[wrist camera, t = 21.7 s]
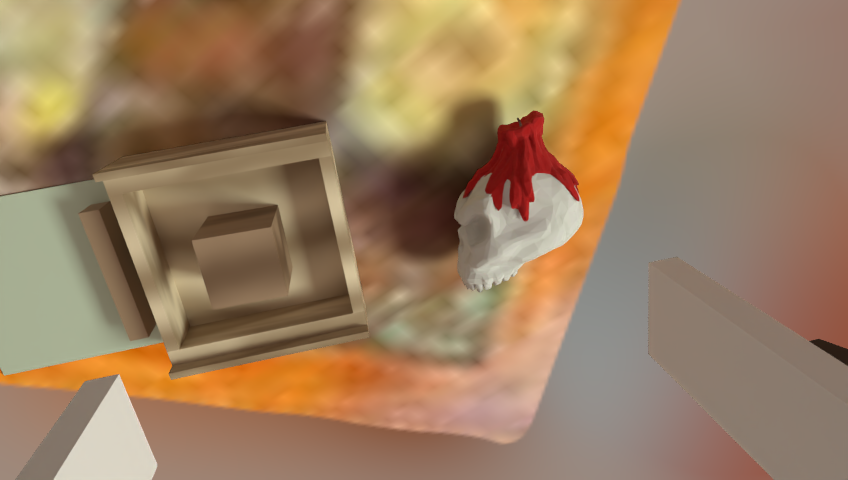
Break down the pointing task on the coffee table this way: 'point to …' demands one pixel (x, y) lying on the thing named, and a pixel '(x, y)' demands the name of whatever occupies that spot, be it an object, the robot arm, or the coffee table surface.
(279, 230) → the walnut block
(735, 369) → the robot arm
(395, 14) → the coffee table surface
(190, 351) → the box
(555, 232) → the candle
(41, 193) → the lid
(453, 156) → the coffee table surface
